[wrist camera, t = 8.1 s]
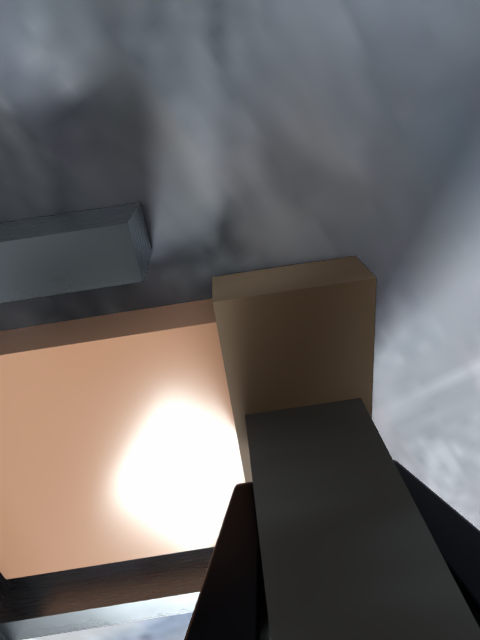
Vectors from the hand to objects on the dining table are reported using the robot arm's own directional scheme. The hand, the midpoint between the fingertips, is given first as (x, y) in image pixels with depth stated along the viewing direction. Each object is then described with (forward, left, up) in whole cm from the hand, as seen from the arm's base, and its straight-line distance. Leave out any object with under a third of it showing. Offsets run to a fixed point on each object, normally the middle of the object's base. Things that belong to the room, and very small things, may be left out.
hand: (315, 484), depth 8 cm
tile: (+5, 0, -3) cm, 6 cm away
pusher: (0, 0, -2) cm, 2 cm away
